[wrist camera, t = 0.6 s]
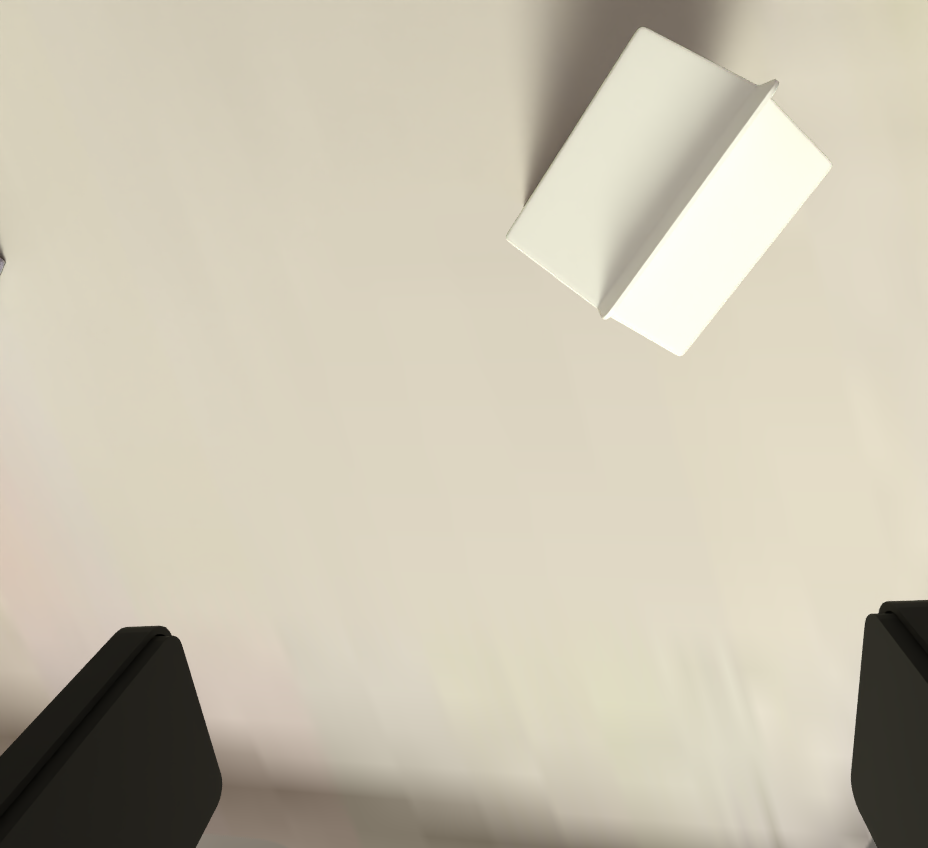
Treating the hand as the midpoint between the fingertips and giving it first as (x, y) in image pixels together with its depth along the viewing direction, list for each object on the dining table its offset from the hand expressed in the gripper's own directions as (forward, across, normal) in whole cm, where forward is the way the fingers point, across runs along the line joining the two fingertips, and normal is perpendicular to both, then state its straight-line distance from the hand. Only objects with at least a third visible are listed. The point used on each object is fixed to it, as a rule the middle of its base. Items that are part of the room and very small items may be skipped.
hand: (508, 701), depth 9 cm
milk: (+31, -4, -6) cm, 31 cm away
